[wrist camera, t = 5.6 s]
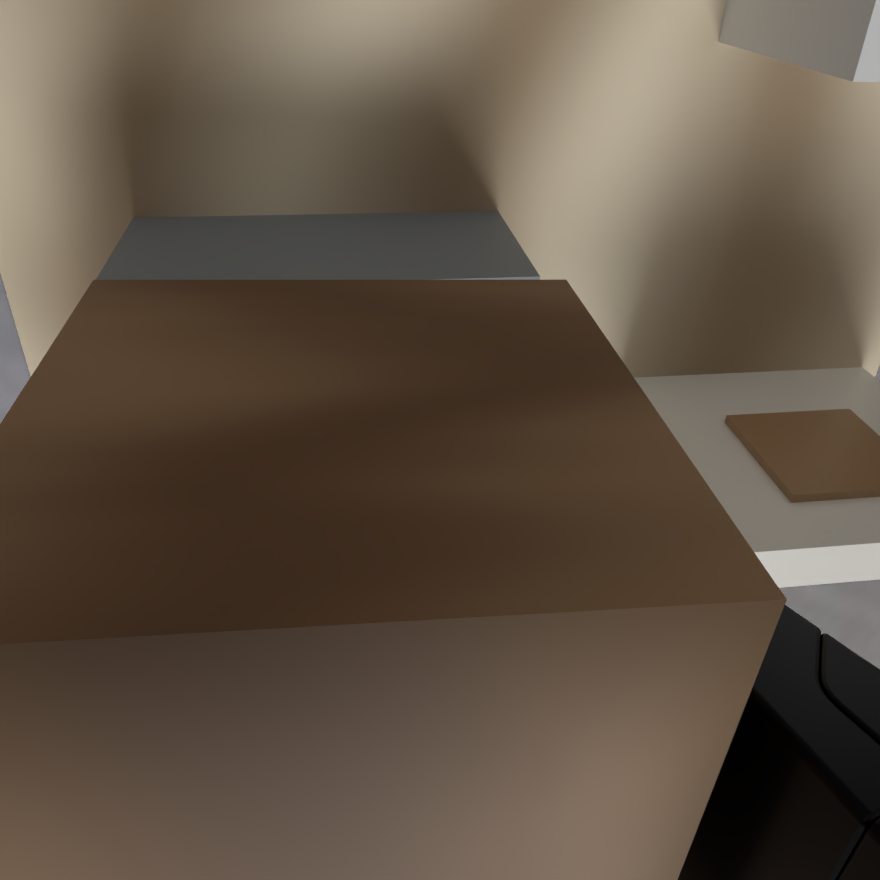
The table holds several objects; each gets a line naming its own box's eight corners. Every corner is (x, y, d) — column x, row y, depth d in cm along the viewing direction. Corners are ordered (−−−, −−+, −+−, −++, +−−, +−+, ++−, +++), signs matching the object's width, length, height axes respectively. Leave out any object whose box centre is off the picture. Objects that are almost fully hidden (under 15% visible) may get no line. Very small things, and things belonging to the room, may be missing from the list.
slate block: (497, 210, 18) (540, 276, 15) (480, 492, 22) (509, 591, 19) (133, 217, 17) (90, 289, 14) (189, 511, 21) (166, 619, 18)
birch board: (1182, -524, 13) (1209, -537, 13) (831, 460, 24) (840, 469, 24) (-265, -684, 11) (-288, -710, 10) (77, 506, 21) (72, 518, 21)
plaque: (864, 360, 22) (1065, 521, 16) (851, 398, 22) (1040, 565, 17) (618, 371, 21) (737, 545, 15) (612, 410, 21) (723, 592, 16)
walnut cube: (566, 279, 9) (786, 599, 5) (520, 606, 11) (632, 994, 7) (94, 279, 8) (-148, 651, 4) (161, 627, 11) (63, 1066, 7)
